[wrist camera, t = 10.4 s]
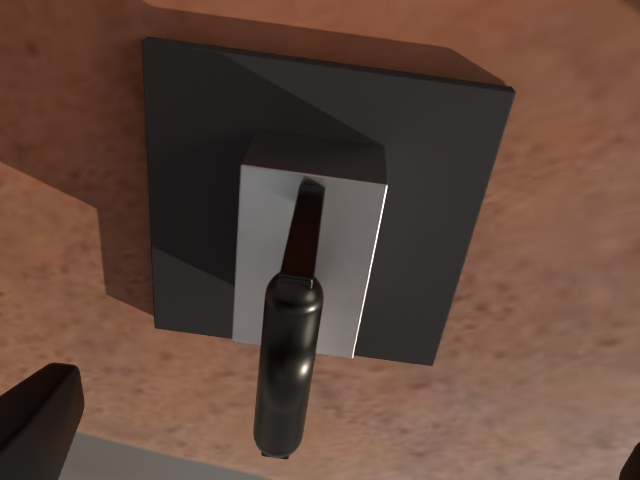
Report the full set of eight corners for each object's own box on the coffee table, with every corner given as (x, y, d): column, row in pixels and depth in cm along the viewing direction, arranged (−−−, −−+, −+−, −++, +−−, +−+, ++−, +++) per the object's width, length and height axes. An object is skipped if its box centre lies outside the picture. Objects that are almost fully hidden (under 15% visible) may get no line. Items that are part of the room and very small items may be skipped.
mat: (431, 356, 25) (433, 366, 25) (158, 319, 25) (154, 328, 25) (512, 86, 19) (516, 92, 18) (147, 35, 19) (141, 40, 18)
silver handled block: (354, 307, 23) (349, 487, 16) (246, 292, 23) (194, 466, 16) (385, 146, 20) (395, 290, 13) (256, 128, 20) (195, 262, 13)
